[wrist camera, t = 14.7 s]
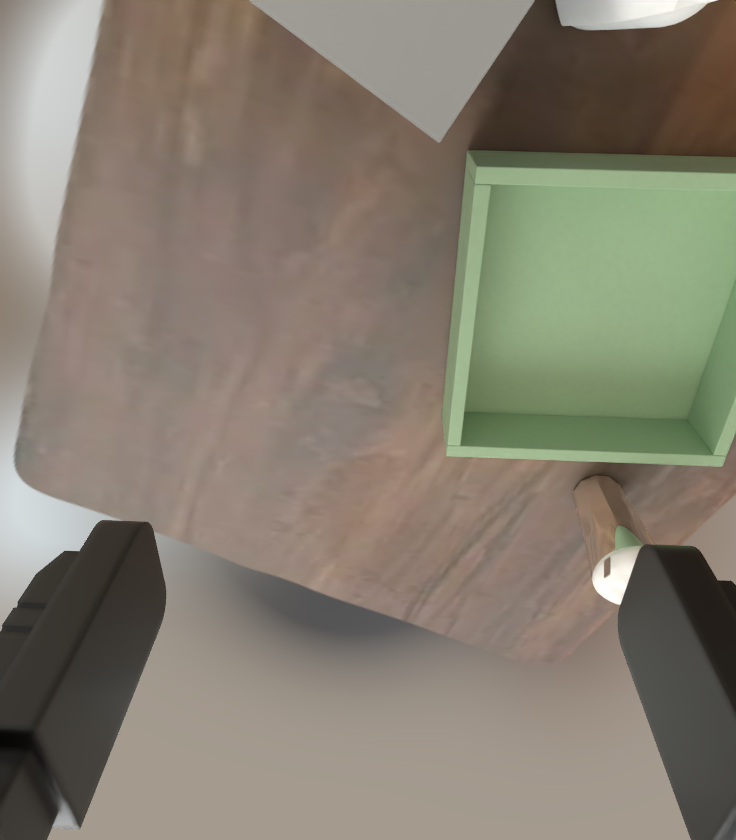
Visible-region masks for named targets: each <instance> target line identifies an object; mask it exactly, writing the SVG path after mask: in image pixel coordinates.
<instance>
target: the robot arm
mask: <svg viewBox="0 0 736 840" xmlns="http://www.w3.org/2000/svg"><path fill="white" fill-rule="evenodd" d="M165 605H166V586H165V581H164V577H163V573H162V568H161V563H160V559H159V554H158V550H157V545H156V540H155V536H154V532H153V528H152V526H151V525H150V523H148V522H136V521H112V520H102V521H100V522H98V523H97V524H96V526H95V527H94V528H93V530H92V532H91V533H90V535H89V537H88V538H87V540H86V542H85V543H84V545H83V546H82V548H81V550H80V551H64V552H63V553H61V554H60V555H59V556H58V557H56V558H55V559H54V560H53V561H52V562H51V563H49V564H48V565H47V566H45V567H44V568H43V569H42V570H41V571H39V572H38V573H37V574H36V575H35V577H34V578H33V580H32V581H31V583H30V584H29V586H28V587H27V589H26V590H25V592H24V593H23V595H22V596H21V598H20V599H19V601H18V606H17V608H13V610H12V611H11V613H10V614H9V616H8V617H7V619H6V620H5V622H4V623H3V625H2V630H1V632H0V840H47V838H48V836H49V833H50V831H51V829H52V828H64V829H80V828H81V825H82V823H83V820H84V818H85V815H86V813H87V810H88V808H89V805H90V803H91V800H92V798H93V795H94V793H95V790H96V787H97V785H98V783H99V780H100V777H101V775H102V772H103V770H104V767H105V765H106V762H107V760H108V757H109V755H110V752H111V750H112V747H113V745H114V742H115V740H116V737H117V735H118V732H119V730H120V727H121V724H122V722H123V720H124V717H125V714H126V712H127V709H128V707H129V704H130V702H131V699H132V697H133V694H134V692H135V689H136V687H137V684H138V682H139V679H140V676H141V674H142V672H143V669H144V666H145V664H146V661H147V659H148V657H149V654H150V651H151V649H152V646H153V644H154V641H155V639H156V636H157V634H158V631H159V629H160V626H161V623H162V620H163V616H164V612H165ZM618 633H619V639H620V644H621V647H622V650H623V653H624V656H625V658H626V661H627V664H628V667H629V669H630V672H631V675H632V678H633V681H634V683H635V686H636V689H637V691H638V694H639V697H640V700H641V703H642V705H643V708H644V711H645V713H646V716H647V719H648V722H649V724H650V728H651V730H652V733H653V736H654V739H655V741H656V744H657V747H658V750H659V752H660V755H661V758H662V761H663V763H664V766H665V769H666V772H667V774H668V777H669V780H670V783H671V786H672V788H673V791H674V794H675V797H676V799H677V802H678V805H679V808H680V810H681V813H682V816H683V819H684V822H685V824H686V827H687V830H688V832H689V835H690V838H691V840H736V585H735V584H734V583H733V582H732V581H718V580H717V579H716V577H715V575H714V573H713V572H712V570H711V568H710V567H709V565H708V563H707V561H706V560H705V558H704V557H703V555H702V553H701V552H700V551H699V550H698V549H697V548H696V547H693V546H677V545H653V544H645V545H643V546H642V547H641V548H640V550H639V552H638V555H637V558H636V561H635V564H634V566H633V569H632V572H631V575H630V578H629V581H628V584H627V587H626V590H625V593H624V596H623V599H622V602H621V604H620V608H619V613H618Z"/></svg>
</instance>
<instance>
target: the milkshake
mask: <svg viewBox="0 0 736 840" xmlns="http://www.w3.org/2000/svg"><path fill="white" fill-rule="evenodd" d="M573 493H574V501H575V506H576V510H577V514H578V518H579V522H580V526H581V530H582V534H583V538H584V542H585V546H586V551H587V557H588V562H589V566H590V571H591V576H592V580H593V585H594V587H595V589H596V591H597V592H598V593H599V594H600V595H602V596H603V597H604V598H605V599H607V600H609V601H611V602H613V603H615V604H619V605H620V604H621V602H622V599H623V596H624V593H625V590H626V587H627V584H628V581H629V578H630V575H631V572H632V569H633V566H634V564H635V561H636V558H637V555H638V552H639V550H640V548H641V547H642V546H643V545H645V544H653V545H657V544H656V542H655V541H654V540H653V538H652V537H651V535H650V534H649V532H648V530H647V529H646V527H645V526H644V524H643V522H642V521H641V519H640V517H639V516H638V514H637V513H636V511H635V509H634V508H633V506H632V504H631V503H630V501H629V500H628V498H627V496H626V495H625V493H624V492H623V490H622V488H621V487H620V485H619V484H618V483H617V482H616V481H614V480H613V479H612V478H611V477H609V476H600V475H594V476H591V477H589V478H587V479H584V480H582V481H581V482H580V483H579V484H578V486H577V487H576V488H575V490H574V491H573Z"/></svg>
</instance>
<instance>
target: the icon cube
mask: <svg viewBox="0 0 736 840" xmlns="http://www.w3.org/2000/svg"><path fill="white" fill-rule="evenodd" d="M249 1H250V2H251V3H253V4H254V5H255V6H257V7H258V8H259V9H261V10H262V11H263V12H265V13H266V14H267V15H269V16H270V17H271V18H273V19H274V20H275V21H277V22H278V23H279V24H281V25H282V26H283V27H285V28H286V29H287V30H289V31H290V32H291V33H293V34H294V35H295V36H297V37H298V38H299V39H301V40H302V41H303V42H305V43H306V44H307V45H309V46H310V47H311V48H313V49H314V50H315V51H317V52H318V53H319V54H321V55H322V56H323V57H325V58H326V59H327V60H329V61H330V62H331V63H333V64H334V65H335V66H337V67H338V68H339V69H341V70H342V71H343V72H345V73H346V74H347V75H349V76H350V77H351V78H353V79H354V80H355V81H357V82H358V83H359V84H361V85H362V86H364V87H365V88H366V89H368V90H369V91H370V92H372V93H373V94H374V95H376V96H377V97H378V98H380V99H381V100H382V101H384V102H385V103H386V104H388V105H389V106H390V107H392V108H393V109H394V110H396V111H397V112H398V113H400V114H401V115H402V116H404V117H405V118H406V119H408V120H409V121H410V122H412V123H413V124H414V125H416V126H417V127H418V128H420V129H421V130H422V131H424V132H425V133H426V134H428V135H429V136H430V137H432V138H433V139H434V140H436V141H437V142H438V143H440V141H441V140H442V138H443V137H444V135H445V134H446V132H447V131H448V129H449V128H450V126H451V125H452V123H453V122H454V120H455V119H456V117H457V116H458V114H459V113H460V111H461V110H462V108H463V107H464V105H465V104H466V102H467V101H468V99H469V98H470V96H471V95H472V93H473V92H474V90H475V89H476V87H477V86H478V84H479V83H480V82H481V80H482V79H483V77H484V76H485V74H486V73H487V71H488V70H489V68H490V67H491V65H492V64H493V62H494V61H495V59H496V58H497V56H498V55H499V53H500V52H501V50H502V49H503V47H504V46H505V44H506V43H507V41H508V40H509V38H510V37H511V35H512V34H513V32H514V31H515V29H516V28H517V26H518V25H519V23H520V22H521V20H522V19H523V17H524V16H525V14H526V13H527V11H528V10H529V8H530V7H531V5H532V4H533V2H534V1H535V0H249Z"/></svg>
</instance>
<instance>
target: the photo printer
mask: <svg viewBox="0 0 736 840" xmlns="http://www.w3.org/2000/svg"><path fill="white" fill-rule="evenodd" d="M555 1H556V6H557V11H558V15H559V19H560V22H561V25H562V26H573V27H575V28H578V29H582V30H614V29H634V28H656V27H665V26H669V25H673V24H676V23H679V22H681V21H683V20H685V19H687V18H689V17H691V16H692V15H694V14H695V13H697V12H698V11H699V10H701V9H702V8H703V7H704V6H705V5H706V4H707V3H709V2H713V1H717V0H555Z"/></svg>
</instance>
